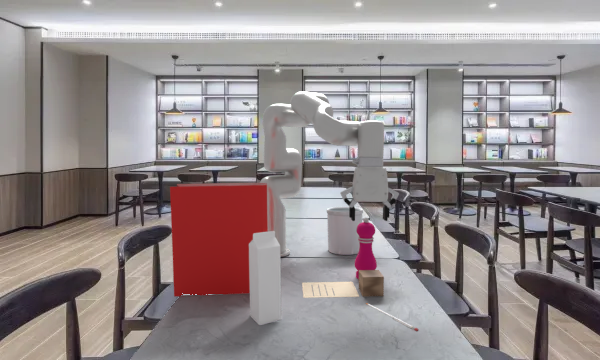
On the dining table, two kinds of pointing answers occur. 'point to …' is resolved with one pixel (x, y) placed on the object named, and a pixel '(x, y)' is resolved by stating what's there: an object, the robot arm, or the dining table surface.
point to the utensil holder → (343, 230)
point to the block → (371, 283)
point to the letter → (329, 289)
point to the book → (215, 235)
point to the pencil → (395, 318)
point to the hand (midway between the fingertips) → (369, 220)
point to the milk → (265, 278)
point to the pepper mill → (365, 247)
